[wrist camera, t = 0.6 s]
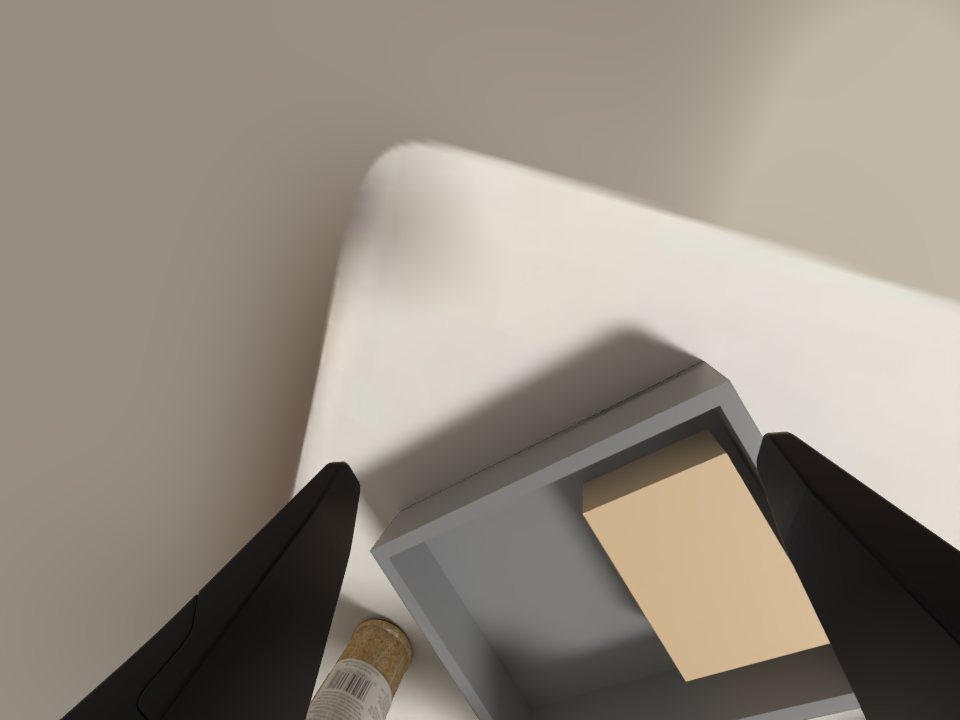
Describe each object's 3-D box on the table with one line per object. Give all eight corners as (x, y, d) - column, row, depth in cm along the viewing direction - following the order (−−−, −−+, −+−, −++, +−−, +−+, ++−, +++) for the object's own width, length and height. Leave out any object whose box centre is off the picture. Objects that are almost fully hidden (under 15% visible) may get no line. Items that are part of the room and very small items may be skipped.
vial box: (804, 592, 22) (837, 641, 19) (673, 632, 24) (685, 681, 21) (707, 428, 21) (726, 453, 18) (582, 484, 23) (582, 513, 21)
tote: (857, 622, 22) (914, 696, 18) (528, 713, 28) (519, 782, 24) (703, 360, 21) (729, 380, 17) (399, 511, 27) (369, 550, 23)
